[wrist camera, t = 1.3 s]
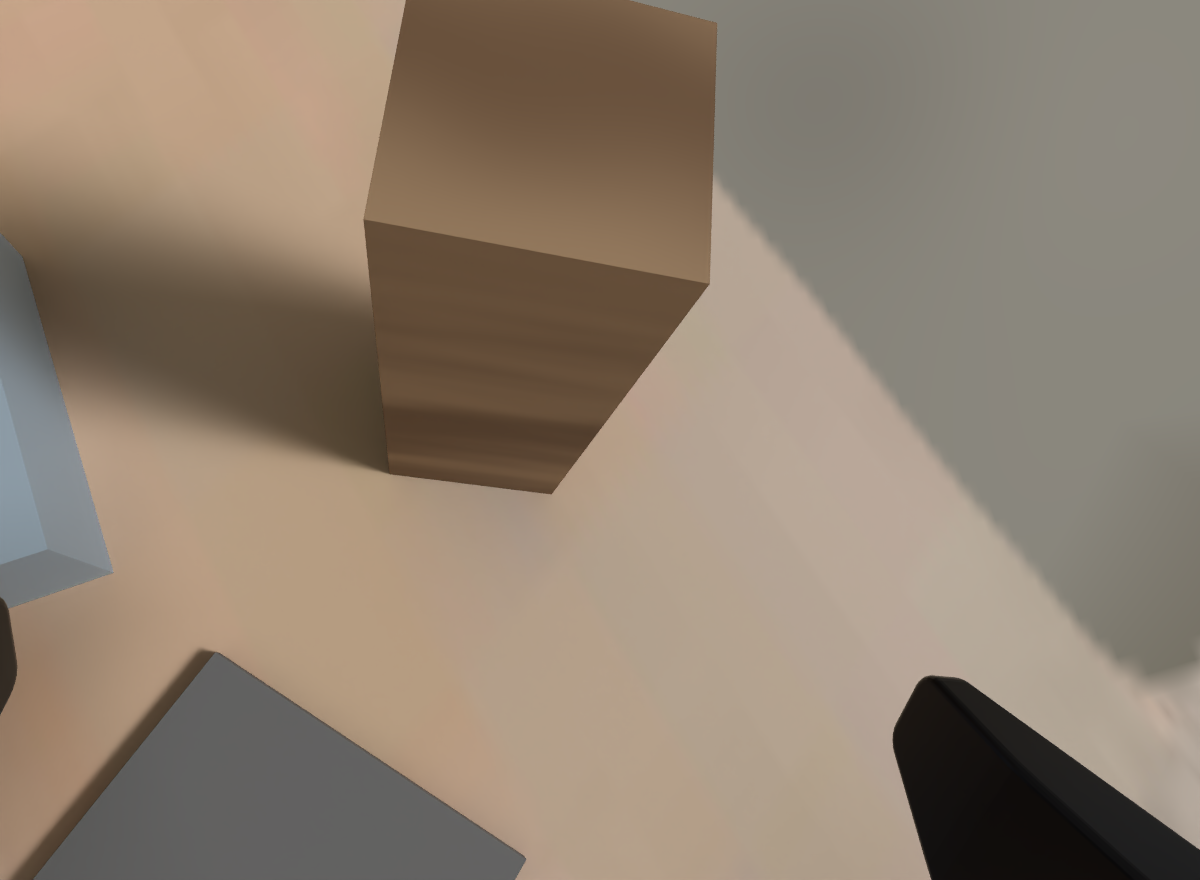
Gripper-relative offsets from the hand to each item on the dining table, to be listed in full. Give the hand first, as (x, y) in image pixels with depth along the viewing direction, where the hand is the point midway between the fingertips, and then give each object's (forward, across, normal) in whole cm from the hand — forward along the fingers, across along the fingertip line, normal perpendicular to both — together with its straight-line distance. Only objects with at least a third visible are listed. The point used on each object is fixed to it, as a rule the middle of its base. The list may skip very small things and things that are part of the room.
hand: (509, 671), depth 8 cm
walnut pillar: (+14, 0, +4) cm, 15 cm away
